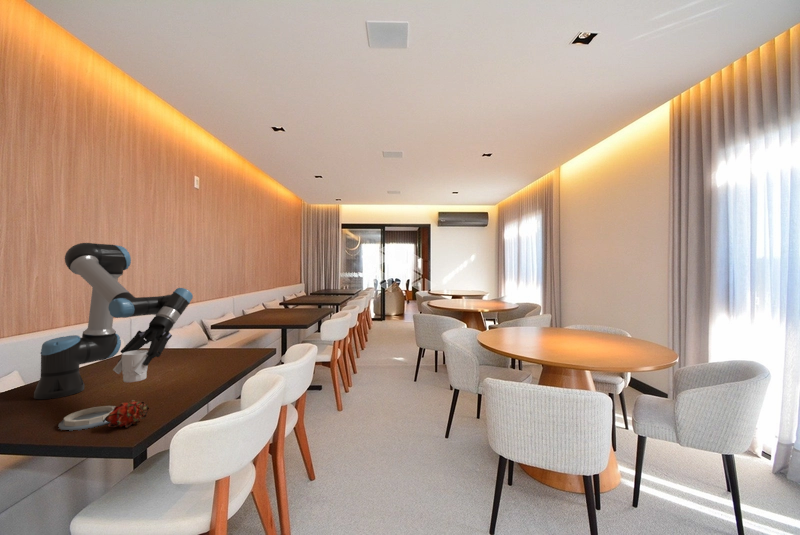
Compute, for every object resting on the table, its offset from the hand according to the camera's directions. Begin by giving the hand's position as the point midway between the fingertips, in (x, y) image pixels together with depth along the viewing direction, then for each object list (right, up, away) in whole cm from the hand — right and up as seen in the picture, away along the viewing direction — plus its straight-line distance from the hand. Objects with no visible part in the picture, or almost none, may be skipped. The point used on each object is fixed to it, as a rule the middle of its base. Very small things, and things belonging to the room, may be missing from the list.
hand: (126, 372), depth 121 cm
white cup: (+1, -4, +3) cm, 5 cm away
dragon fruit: (+7, -15, -9) cm, 19 cm away
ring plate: (-8, -15, -5) cm, 18 cm away
